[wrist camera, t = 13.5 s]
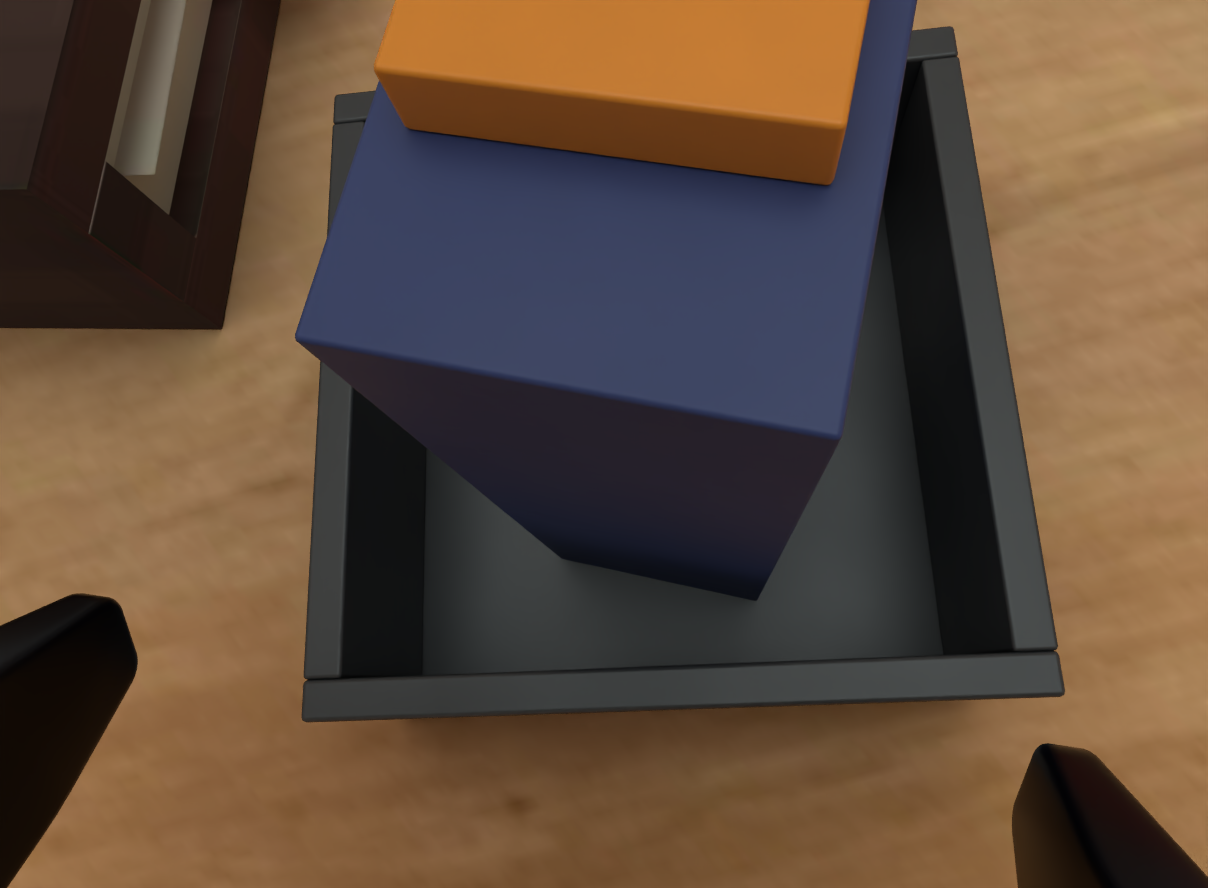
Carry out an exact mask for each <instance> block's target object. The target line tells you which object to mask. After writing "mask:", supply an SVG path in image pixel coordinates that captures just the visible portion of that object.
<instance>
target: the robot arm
mask: <svg viewBox="0 0 1208 888" xmlns="http://www.w3.org/2000/svg"><path fill="white" fill-rule="evenodd" d="M137 664H138V659H137V653H136V650H135V647H134V644H133V641H132V638H131V635H130V632H129V629H128V626H127V623H126V620H125V617H124V614H123V611H122V608H121V606H120V605H119V603H118V602H116V601H115V600H114V599H112V598H109V597H103V596H96V595H90V594H83V593H80V594H72V595H69V596H66V597H64V598H62V599H60V600H57V601H55V602H53V603H51V604H48V605H46V606H44V607H42V608H39V609H37V610H35V611H33V612H30V613H28V614H26V615H23V616H21V617H19V618H17V619H14V620H12V621H10V622H8V623H5V624H3V625H1V626H0V888H7V887H8V886H9V884H10V883H11V881H12V880H13V879H14V877H15V876H16V874H17V873H18V871H19V870H20V868H21V867H22V865H23V864H24V863H25V861H26V860H27V858H28V857H29V855H30V854H31V852H32V851H33V850H34V848H35V847H36V845H37V844H38V842H39V841H40V839H41V838H42V836H43V835H44V833H45V832H46V830H47V829H48V827H49V826H50V824H51V823H52V821H53V820H54V818H55V817H56V815H57V814H58V812H59V810H60V809H61V807H62V805H63V803H64V802H65V800H66V798H67V797H68V795H69V793H70V792H71V790H72V788H73V787H74V785H75V783H76V781H77V779H78V778H79V776H80V774H81V772H82V770H83V769H84V767H85V765H86V763H87V762H88V760H89V758H90V756H91V754H92V753H93V751H94V749H95V747H96V746H97V744H98V742H99V740H100V738H101V737H102V735H103V733H104V731H105V730H106V728H107V726H108V724H109V722H110V721H111V719H112V717H113V715H114V714H115V712H116V710H117V708H118V706H119V705H120V703H121V701H122V699H123V698H124V696H125V694H126V692H127V690H128V689H129V687H130V685H131V683H132V681H133V679H134V677H135V674H136V670H137ZM1012 834H1013V844H1014V853H1015V863H1016V873H1017V883H1018V888H1208V877H1207V875H1206V874H1205V873H1204V872H1203V871H1202V870H1201V869H1200V868H1199V867H1198V866H1197V865H1196V864H1195V862H1194V861H1193V860H1192V859H1191V858H1190V857H1189V856H1188V855H1187V854H1186V853H1185V852H1184V850H1183V849H1182V848H1181V847H1180V846H1179V845H1178V844H1177V843H1176V842H1175V841H1174V840H1173V838H1172V837H1171V836H1170V835H1169V834H1168V833H1167V832H1166V831H1165V830H1164V829H1163V828H1162V827H1161V825H1160V824H1159V823H1158V822H1157V821H1156V820H1155V819H1154V818H1153V817H1152V816H1151V815H1150V813H1149V812H1148V811H1147V810H1146V809H1145V808H1144V807H1143V806H1142V805H1141V804H1140V803H1139V801H1138V800H1137V799H1136V798H1135V797H1134V796H1133V795H1132V794H1131V793H1130V792H1129V791H1128V790H1127V788H1126V787H1125V786H1124V785H1123V784H1122V783H1121V782H1120V781H1119V780H1118V779H1117V778H1116V776H1115V775H1114V774H1113V773H1112V772H1111V771H1110V770H1109V769H1108V768H1107V767H1106V766H1105V764H1104V763H1103V762H1102V761H1101V760H1100V759H1099V758H1098V757H1097V756H1096V755H1094V754H1093V753H1091V752H1090V751H1088V750H1085V749H1081V748H1074V747H1068V746H1062V745H1055V744H1049V743H1047V744H1042V745H1040V746H1039V747H1038V748H1037V749H1036V750H1035V752H1034V753H1033V756H1032V758H1031V761H1030V763H1029V766H1028V769H1027V771H1026V774H1025V776H1024V779H1023V782H1022V784H1021V787H1020V789H1019V792H1018V795H1017V797H1016V800H1015V803H1014V807H1013V813H1012Z"/></svg>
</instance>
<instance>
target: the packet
mask: <svg viewBox="0 0 1208 888" xmlns="http://www.w3.org/2000/svg"><path fill="white" fill-rule="evenodd" d="M916 4H917V0H395V3H394V6H393V9H392V12H391V15H390V18H389V21H388V24H387V27H386V30H385V33H384V36H383V39H382V42H381V45H380V48H379V51H378V54H377V57H376V60H375V63H374V71H375V73H376V75H377V77H378V79H379V82H378V85H377V88H376V92H375V95H374V98H373V101H372V104H371V107H370V110H369V113H368V116H367V119H366V122H365V125H364V128H363V131H362V134H361V137H360V140H359V143H358V146H357V149H356V152H355V155H354V158H353V161H352V164H351V167H350V170H349V173H348V176H347V179H346V182H345V185H344V188H343V191H342V194H341V197H340V200H339V203H338V206H337V209H336V212H335V216H334V219H333V222H332V225H331V228H330V231H329V234H328V237H327V240H326V243H325V246H324V249H323V252H322V255H321V258H320V261H319V264H318V267H317V270H316V273H315V276H314V279H313V282H312V285H311V288H310V291H309V294H308V297H307V300H306V303H305V306H304V309H303V312H302V315H301V318H300V321H299V324H298V327H297V330H296V333H295V339H296V341H297V342H299V343H300V344H301V345H302V346H303V347H305V348H306V349H307V350H308V351H310V352H311V353H312V354H313V355H314V356H316V357H317V358H318V359H319V360H320V361H322V362H323V363H324V364H325V365H327V366H328V367H329V368H330V369H331V370H333V371H334V372H335V373H336V374H337V375H339V376H340V377H341V378H342V379H344V380H345V381H346V382H347V383H348V384H350V385H351V386H352V387H353V388H355V389H356V390H357V391H358V392H359V393H361V394H362V395H363V396H364V397H365V398H367V399H368V400H369V401H370V402H372V403H373V404H374V405H375V406H376V407H378V408H379V409H380V410H381V411H382V412H384V413H385V414H386V415H387V416H389V417H390V418H391V419H392V420H393V421H395V422H396V423H397V424H398V425H400V426H401V427H402V428H403V429H404V430H406V431H407V432H408V433H409V434H410V435H412V436H413V437H414V438H415V439H417V440H418V441H419V442H420V443H421V444H423V445H424V446H425V447H426V448H427V449H429V450H430V451H431V452H432V453H434V454H435V455H436V456H437V457H438V458H440V459H441V460H442V461H443V462H445V463H446V464H447V465H448V466H449V467H451V468H452V469H453V470H454V471H455V472H457V473H458V474H459V475H460V476H462V477H463V478H464V479H465V480H466V481H468V482H469V483H470V484H471V485H472V486H474V487H475V488H476V489H477V490H479V491H480V492H481V493H482V494H483V495H485V496H486V497H487V498H488V499H489V500H491V501H492V502H493V503H494V504H496V505H497V506H498V507H499V508H500V509H502V510H503V511H504V512H505V513H507V514H508V515H509V516H510V517H511V518H513V519H514V520H515V521H516V522H517V523H519V524H520V525H521V526H522V527H524V528H525V529H526V530H527V531H528V532H530V533H531V534H532V535H533V536H534V537H536V538H537V539H538V540H539V541H541V542H542V543H543V544H544V545H545V546H547V547H548V548H549V549H550V550H552V551H553V552H554V553H555V554H556V555H558V556H559V557H560V558H561V559H565V560H570V561H574V562H579V563H584V564H588V565H593V566H597V567H602V568H607V569H611V570H616V571H620V572H625V573H630V574H634V575H639V576H643V577H648V578H652V579H657V580H662V581H666V582H671V583H675V584H680V585H685V586H689V587H694V588H698V589H703V590H708V591H712V592H717V593H721V594H726V595H731V596H735V597H740V598H744V599H749V600H754V601H757V600H758V598H759V596H760V594H761V592H762V590H763V588H764V587H765V585H766V583H767V581H768V579H769V577H770V575H771V573H772V571H773V569H774V567H775V565H776V563H777V561H778V560H779V558H780V556H781V554H782V552H783V550H784V548H785V546H786V544H787V542H788V540H789V538H790V536H791V534H792V533H793V531H794V529H795V527H796V525H797V523H798V521H799V519H800V517H801V515H802V513H803V511H804V509H805V507H806V506H807V504H808V502H809V500H810V498H811V496H812V494H813V492H814V490H815V488H816V486H817V484H818V482H819V480H820V479H821V477H822V475H823V473H824V471H825V469H826V467H827V465H828V463H829V461H830V459H831V457H832V455H833V453H834V451H835V450H836V448H837V446H838V444H839V442H840V440H841V438H842V436H843V431H844V426H845V420H846V414H847V408H848V402H849V396H850V390H851V385H852V379H853V373H854V367H855V361H856V355H857V349H858V344H859V338H860V332H861V326H862V320H863V314H864V308H865V303H866V297H867V291H868V285H869V279H870V273H871V267H872V262H873V256H874V250H875V244H876V238H877V232H878V226H879V221H880V215H881V209H882V203H883V197H884V191H885V185H886V179H887V174H888V168H889V162H890V156H891V150H892V144H893V138H894V133H895V127H896V121H897V115H898V109H899V103H900V97H901V92H902V86H903V80H904V74H905V68H906V62H907V56H908V51H909V45H910V39H911V33H912V27H913V21H914V15H915V10H916Z"/></svg>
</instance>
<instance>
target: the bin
mask: <svg viewBox="0 0 1208 888" xmlns="http://www.w3.org/2000/svg"><path fill="white" fill-rule="evenodd" d="M957 55H958V52H957V46H956V40H955V34H954V29H953V27H950V26H949V27H940V28H931V29H922V30H913V31H912V33H911V39H910V45H909V51H908V56H907V62H906V68H905V74H904V80H903V86H902V92H901V97H900V103H899V109H898V115H897V121H896V127H895V133H894V138H893V144H892V150H891V156H890V162H889V168H888V174H887V179H886V185H885V191H884V197H883V203H882V209H881V215H880V221H879V226H878V232H877V238H876V244H875V250H874V256H873V262H872V267H871V273H870V279H869V285H868V291H867V297H866V303H865V308H864V314H863V320H862V326H861V332H860V338H859V344H858V349H857V355H856V361H855V367H854V373H853V379H852V385H851V390H850V396H849V402H848V408H847V414H846V420H845V426H844V431H843V436H842V438H841V440H840V442H839V444H838V446H837V448H836V450H835V451H834V453H833V455H832V457H831V459H830V461H829V463H828V465H827V467H826V469H825V471H824V473H823V475H822V477H821V479H820V480H819V482H818V484H817V486H816V488H815V490H814V492H813V494H812V496H811V498H810V500H809V502H808V504H807V506H806V507H805V509H804V511H803V513H802V515H801V517H800V519H799V521H798V523H797V525H796V527H795V529H794V531H793V533H792V534H791V536H790V538H789V540H788V542H787V544H786V546H785V548H784V550H783V552H782V554H781V556H780V558H779V560H778V561H777V563H776V565H775V567H774V569H773V571H772V573H771V575H770V577H769V579H768V581H767V583H766V585H765V587H764V588H763V590H762V592H761V594H760V596H759V598H758V600H757V601H754V600H749V599H744V598H740V597H735V596H731V595H726V594H721V593H717V592H712V591H708V590H703V589H698V588H694V587H689V586H685V585H680V584H675V583H671V582H666V581H662V580H657V579H652V578H648V577H643V576H639V575H634V574H630V573H625V572H620V571H616V570H611V569H607V568H602V567H597V566H593V565H588V564H584V563H579V562H574V561H570V560H565V559H561V558H560V557H559V556H558V555H556V554H555V553H554V552H553V551H552V550H550V549H549V548H548V547H547V546H545V545H544V544H543V543H542V542H541V541H539V540H538V539H537V538H536V537H534V536H533V535H532V534H531V533H530V532H528V531H527V530H526V529H525V528H524V527H522V526H521V525H520V524H519V523H517V522H516V521H515V520H514V519H513V518H511V517H510V516H509V515H508V514H507V513H505V512H504V511H503V510H502V509H500V508H499V507H498V506H497V505H496V504H494V503H493V502H492V501H491V500H489V499H488V498H487V497H486V496H485V495H483V494H482V493H481V492H480V491H479V490H477V489H476V488H475V487H474V486H472V485H471V484H470V483H469V482H468V481H466V480H465V479H464V478H463V477H462V476H460V475H459V474H458V473H457V472H455V471H454V470H453V469H452V468H451V467H449V466H448V465H447V464H446V463H445V462H443V461H442V460H441V459H440V458H438V457H437V456H436V455H435V454H434V453H432V452H431V451H430V450H429V449H427V448H426V447H425V446H424V445H423V444H421V443H420V442H419V441H418V440H417V439H415V438H414V437H413V436H412V435H410V434H409V433H408V432H407V431H406V430H404V429H403V428H402V427H401V426H400V425H398V424H397V423H396V422H395V421H393V420H392V419H391V418H390V417H389V416H387V415H386V414H385V413H384V412H382V411H381V410H380V409H379V408H378V407H376V406H375V405H374V404H373V403H372V402H370V401H369V400H368V399H367V398H365V397H364V396H363V395H362V394H361V393H359V392H358V391H357V390H356V389H355V388H353V387H352V386H351V385H350V384H348V383H347V382H346V381H345V380H344V379H342V378H341V377H340V376H339V375H337V374H336V373H335V372H334V371H333V370H331V369H330V368H329V367H328V366H327V365H325V364H324V363H323V362H322V361H320V379H319V398H318V417H317V435H316V454H315V473H314V492H313V510H312V529H311V548H310V567H309V585H308V604H307V623H306V642H305V661H304V678H305V679H307V681H305V682H304V685H303V702H302V720H303V721H305V722H332V721H361V720H391V719H420V718H450V717H479V716H509V715H538V714H568V713H597V712H627V711H656V710H686V709H715V708H745V707H774V706H803V705H833V704H862V703H892V702H921V701H951V700H980V699H1010V698H1039V697H1061V696H1063V695H1064V693H1065V688H1064V682H1063V676H1062V670H1061V664H1060V658H1059V655H1058V653H1057V652H1055V651H1053V650H1056V649H1057V647H1058V644H1057V638H1056V632H1055V626H1054V620H1053V614H1052V608H1051V602H1050V596H1049V591H1048V585H1047V579H1046V573H1045V567H1044V561H1043V555H1042V549H1041V543H1040V537H1039V531H1038V525H1037V519H1036V513H1035V507H1034V501H1033V495H1032V490H1031V484H1030V478H1029V472H1028V466H1027V460H1026V454H1025V448H1024V442H1023V436H1022V430H1021V424H1020V418H1019V412H1018V406H1017V400H1016V394H1015V388H1014V383H1013V377H1012V371H1011V365H1010V359H1009V353H1008V347H1007V341H1006V335H1005V329H1004V323H1003V317H1002V311H1001V305H1000V299H999V293H998V287H997V282H996V276H995V270H994V264H993V258H992V252H991V246H990V240H989V234H988V228H987V222H986V216H985V210H984V204H983V198H982V192H981V186H980V180H979V175H978V169H977V163H976V157H975V151H974V145H973V139H972V133H971V127H970V121H969V115H968V109H967V103H966V97H965V91H964V85H963V79H962V74H961V68H960V62H959V58H958V57H957ZM375 92H376V91H368V92H359V93H350V94H341V95H337V96H335V101H334V124H335V125H334V126H333V135H332V154H331V173H330V191H329V210H328V229H327V237H328V234H329V231H330V228H331V225H332V222H333V219H334V216H335V212H336V209H337V206H338V203H339V200H340V197H341V194H342V191H343V188H344V185H345V182H346V179H347V176H348V173H349V170H350V167H351V164H352V161H353V158H354V155H355V152H356V149H357V146H358V143H359V140H360V137H361V134H362V131H363V128H364V125H365V122H366V119H367V116H368V113H369V110H370V107H371V104H372V101H373V98H374V95H375Z"/></svg>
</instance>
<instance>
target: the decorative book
mask: <svg viewBox="0 0 1208 888" xmlns="http://www.w3.org/2000/svg"><path fill="white" fill-rule="evenodd" d="M279 4H280V0H0V328H147V329H222V324H223V318H224V312H225V307H226V301H227V296H228V290H229V284H230V279H231V273H232V268H233V262H234V256H235V251H236V245H237V240H238V234H239V228H240V223H241V217H242V212H243V206H244V200H245V195H246V189H247V184H248V178H249V172H250V167H251V161H252V156H253V150H254V144H255V139H256V133H257V128H258V122H259V116H260V111H261V105H262V100H263V94H264V88H265V83H266V77H267V72H268V66H269V60H270V55H271V49H272V44H273V38H274V32H275V27H276V21H277V16H278V10H279Z"/></svg>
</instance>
